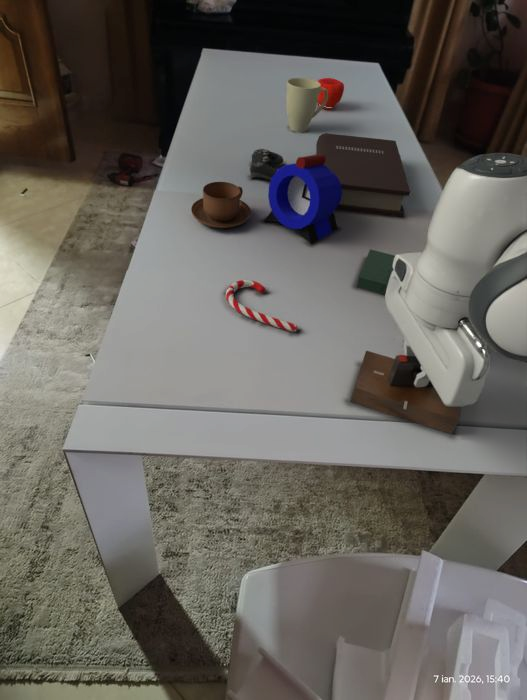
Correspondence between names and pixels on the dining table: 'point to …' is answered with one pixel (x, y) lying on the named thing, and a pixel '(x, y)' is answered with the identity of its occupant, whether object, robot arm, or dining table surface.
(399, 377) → the red-tipped grey bar
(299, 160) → the alarm clock
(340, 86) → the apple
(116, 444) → the dining table surface
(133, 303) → the dining table surface
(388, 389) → the control panel
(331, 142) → the book
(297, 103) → the mug
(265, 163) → the gaming controller
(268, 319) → the candy cane
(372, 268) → the button box
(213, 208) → the cup and saucer
